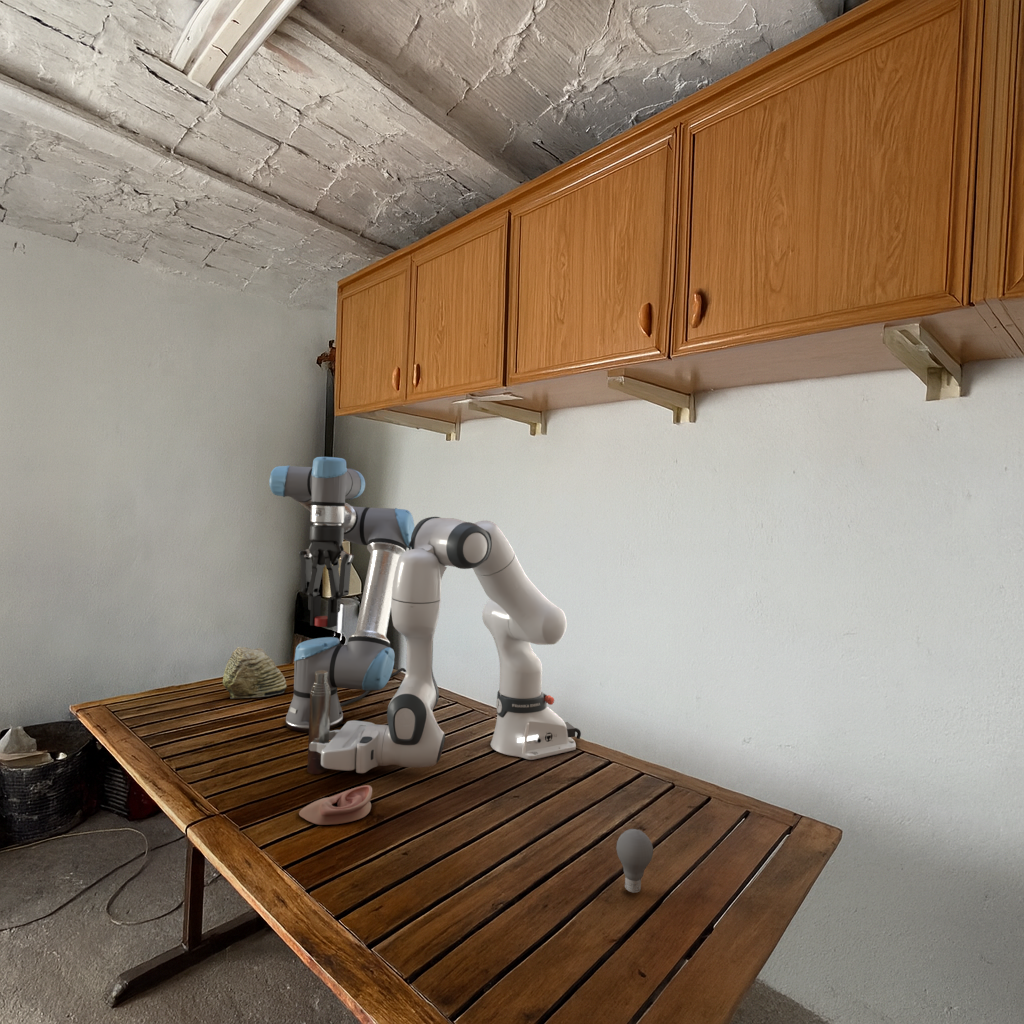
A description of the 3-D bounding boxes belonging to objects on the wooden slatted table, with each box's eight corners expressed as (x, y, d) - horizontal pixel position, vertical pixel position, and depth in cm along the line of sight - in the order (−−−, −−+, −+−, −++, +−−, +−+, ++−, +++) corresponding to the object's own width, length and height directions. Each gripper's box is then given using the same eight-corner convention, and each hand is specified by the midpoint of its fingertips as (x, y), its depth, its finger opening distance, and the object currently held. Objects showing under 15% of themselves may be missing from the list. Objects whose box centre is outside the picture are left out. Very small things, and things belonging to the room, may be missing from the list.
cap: (332, 623, 149) (332, 615, 149) (332, 626, 145) (332, 619, 145) (314, 623, 148) (315, 615, 148) (314, 626, 144) (314, 619, 144)
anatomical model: (291, 800, 123) (320, 775, 134) (290, 820, 123) (320, 794, 134) (354, 810, 120) (379, 784, 132) (353, 830, 121) (378, 803, 132)
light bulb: (610, 879, 108) (613, 822, 108) (644, 879, 109) (647, 822, 109) (619, 902, 102) (622, 840, 102) (655, 901, 103) (658, 840, 103)
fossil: (218, 695, 195) (220, 647, 195) (278, 685, 208) (279, 640, 207) (228, 703, 189) (230, 653, 188) (289, 692, 201) (290, 645, 201)
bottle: (332, 768, 148) (335, 671, 147) (318, 775, 144) (321, 675, 143) (317, 764, 150) (321, 668, 149) (303, 771, 146) (306, 672, 145)
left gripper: (285, 522, 145) (282, 624, 145) (350, 526, 140) (346, 632, 140) (306, 522, 152) (302, 619, 152) (368, 525, 147) (364, 626, 147)
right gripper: (385, 715, 156) (330, 712, 157) (362, 747, 136) (298, 744, 136) (384, 741, 156) (329, 737, 157) (361, 777, 136) (297, 773, 137)
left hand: (323, 625), depth 146 cm, fingers closed on cap, 4 cm apart
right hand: (314, 740), depth 147 cm, fingers closed on bottle, 4 cm apart
